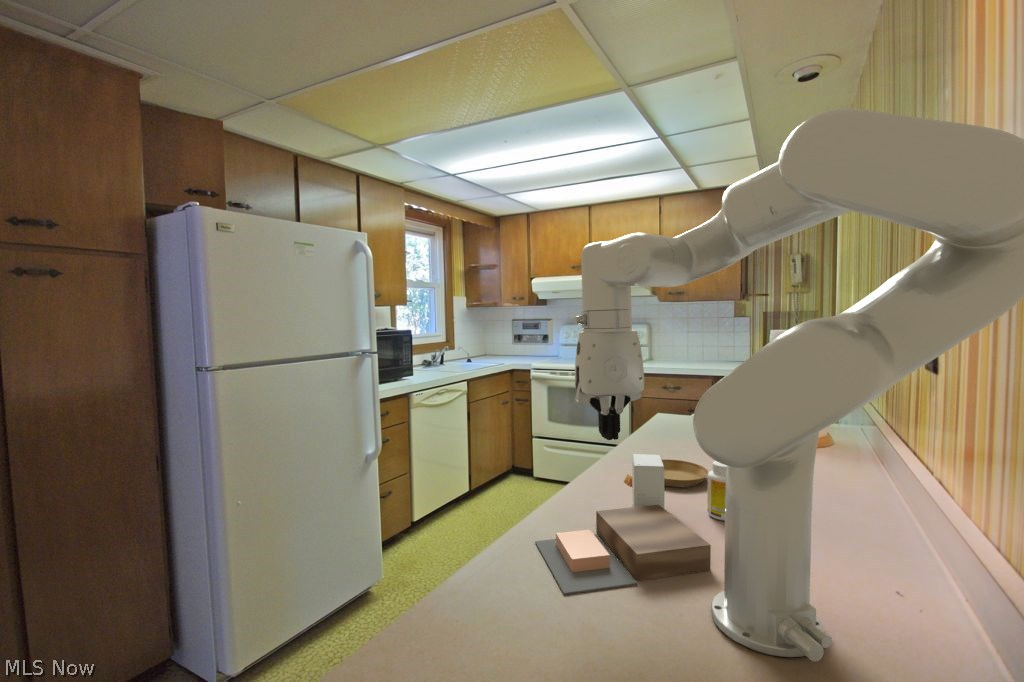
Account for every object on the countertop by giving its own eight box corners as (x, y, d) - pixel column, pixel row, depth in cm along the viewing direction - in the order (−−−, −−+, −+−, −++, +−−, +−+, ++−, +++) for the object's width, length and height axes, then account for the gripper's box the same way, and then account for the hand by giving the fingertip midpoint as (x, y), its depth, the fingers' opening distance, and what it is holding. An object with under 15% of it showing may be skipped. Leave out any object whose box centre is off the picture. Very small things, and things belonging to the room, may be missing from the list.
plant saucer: (693, 468, 123) (693, 458, 123) (720, 490, 109) (720, 478, 108) (634, 470, 123) (634, 459, 123) (653, 492, 108) (653, 480, 108)
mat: (636, 584, 72) (637, 582, 72) (564, 595, 70) (564, 592, 70) (595, 535, 87) (595, 534, 87) (535, 542, 85) (535, 541, 85)
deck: (710, 570, 75) (710, 544, 75) (637, 580, 73) (637, 554, 73) (658, 525, 91) (658, 504, 91) (596, 533, 88) (596, 511, 88)
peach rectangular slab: (572, 559, 75) (572, 572, 75) (609, 554, 76) (609, 567, 76) (555, 533, 84) (556, 544, 84) (589, 529, 85) (589, 540, 85)
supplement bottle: (744, 521, 92) (745, 467, 91) (715, 522, 92) (715, 468, 91) (730, 509, 98) (731, 458, 97) (702, 510, 98) (702, 459, 97)
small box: (664, 522, 93) (664, 466, 92) (633, 520, 94) (633, 465, 93) (660, 505, 100) (660, 454, 100) (632, 503, 102) (632, 453, 101)
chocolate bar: (649, 503, 102) (649, 492, 102) (622, 484, 114) (622, 474, 114) (660, 502, 103) (660, 491, 103) (632, 483, 115) (632, 473, 115)
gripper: (569, 324, 73) (572, 448, 74) (662, 320, 76) (664, 439, 77) (554, 323, 80) (557, 436, 81) (639, 320, 83) (642, 429, 84)
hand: (609, 437), depth 79 cm, fingers closed
